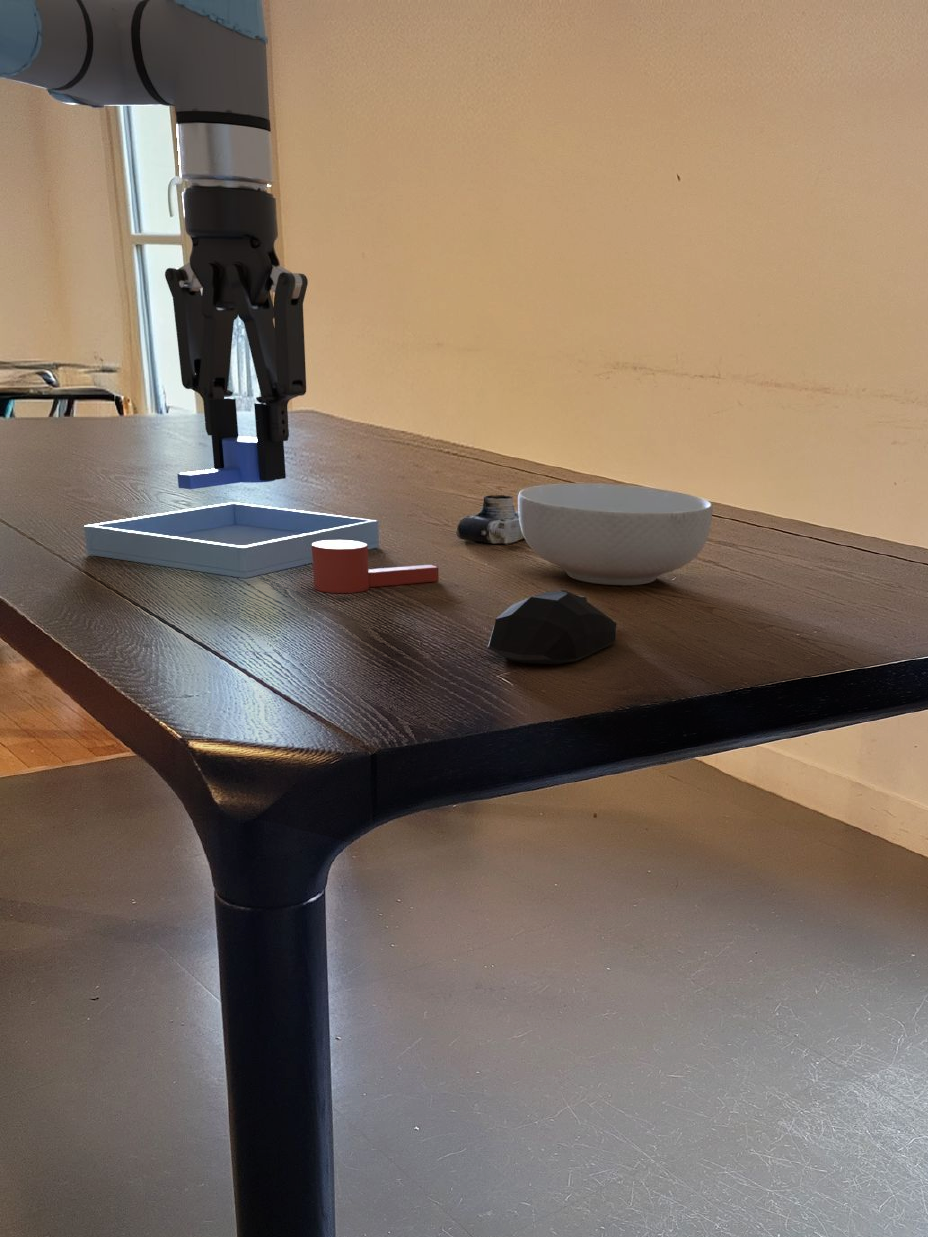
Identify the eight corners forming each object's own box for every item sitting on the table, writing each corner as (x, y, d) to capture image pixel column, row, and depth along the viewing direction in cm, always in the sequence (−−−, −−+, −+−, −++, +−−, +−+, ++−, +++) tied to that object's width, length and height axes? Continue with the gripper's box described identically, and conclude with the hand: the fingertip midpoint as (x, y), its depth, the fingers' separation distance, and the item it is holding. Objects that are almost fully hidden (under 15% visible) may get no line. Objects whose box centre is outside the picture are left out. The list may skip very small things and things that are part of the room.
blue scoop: (247, 475, 120) (244, 436, 119) (285, 479, 119) (283, 439, 117) (164, 486, 111) (160, 443, 110) (205, 491, 109) (201, 447, 108)
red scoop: (327, 595, 103) (325, 550, 101) (305, 584, 106) (302, 541, 104) (447, 584, 109) (447, 542, 107) (423, 575, 112) (422, 534, 110)
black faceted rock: (652, 632, 96) (654, 578, 94) (551, 675, 84) (552, 613, 82) (577, 620, 98) (579, 567, 97) (469, 660, 86) (469, 600, 84)
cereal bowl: (551, 599, 105) (552, 510, 102) (494, 562, 119) (494, 482, 116) (739, 593, 111) (745, 508, 108) (664, 558, 125) (668, 482, 122)
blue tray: (87, 554, 113) (83, 525, 112) (234, 527, 129) (232, 502, 128) (245, 578, 107) (243, 547, 106) (379, 547, 123) (378, 520, 122)
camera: (551, 534, 135) (552, 493, 133) (495, 547, 126) (495, 503, 124) (510, 528, 137) (511, 487, 135) (453, 541, 128) (452, 497, 127)
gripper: (342, 193, 108) (354, 481, 117) (178, 191, 114) (203, 465, 124) (284, 184, 102) (303, 489, 111) (115, 182, 108) (145, 472, 117)
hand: (250, 476), depth 117 cm, fingers closed on blue scoop, 4 cm apart
